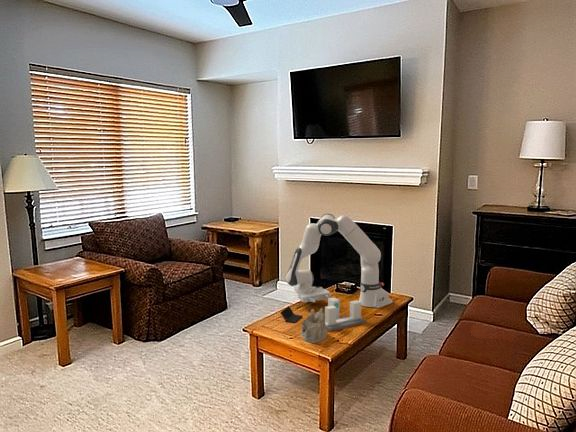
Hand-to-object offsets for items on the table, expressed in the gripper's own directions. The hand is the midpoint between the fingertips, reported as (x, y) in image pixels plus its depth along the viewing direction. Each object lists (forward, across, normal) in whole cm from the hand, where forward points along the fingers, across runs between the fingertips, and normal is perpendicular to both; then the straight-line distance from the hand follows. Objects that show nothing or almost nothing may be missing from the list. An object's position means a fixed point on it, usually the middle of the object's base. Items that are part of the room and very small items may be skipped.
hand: (321, 299), depth 266 cm
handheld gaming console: (+3, -23, +7) cm, 24 cm away
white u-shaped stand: (+24, -1, +7) cm, 25 cm away
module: (+13, 0, +7) cm, 15 cm away
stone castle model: (+29, -24, +7) cm, 38 cm away
